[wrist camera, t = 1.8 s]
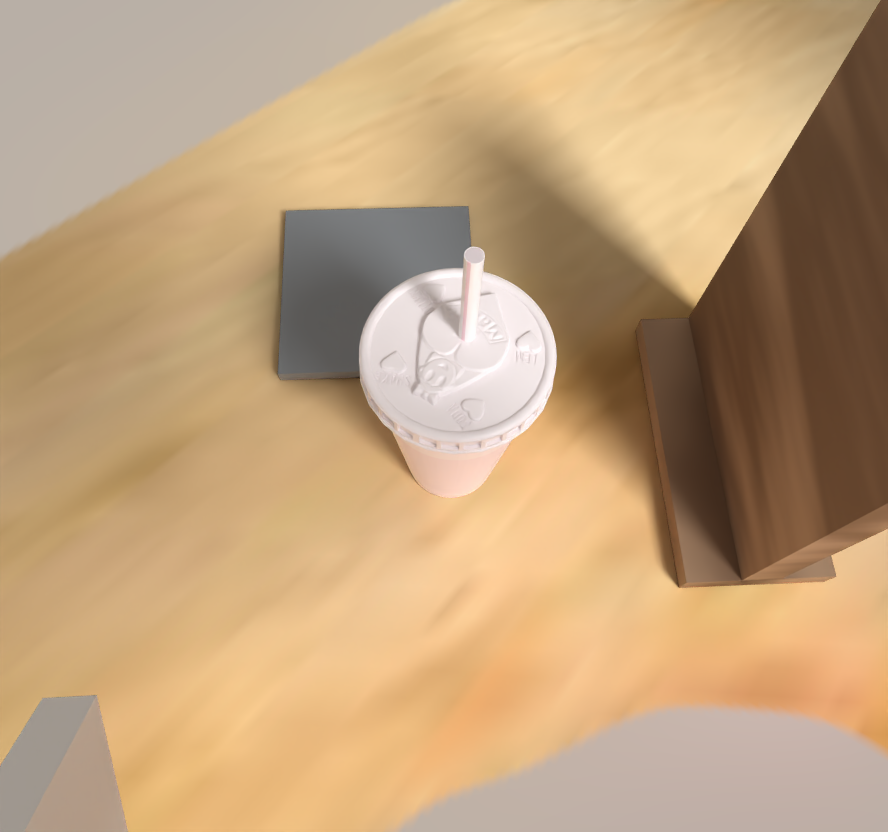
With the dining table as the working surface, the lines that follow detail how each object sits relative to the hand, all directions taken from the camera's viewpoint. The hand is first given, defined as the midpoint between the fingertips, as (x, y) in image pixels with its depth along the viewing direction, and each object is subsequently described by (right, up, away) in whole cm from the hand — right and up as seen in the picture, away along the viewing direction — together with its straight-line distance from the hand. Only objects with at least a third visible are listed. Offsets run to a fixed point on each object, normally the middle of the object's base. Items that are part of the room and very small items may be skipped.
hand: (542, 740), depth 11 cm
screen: (+11, +4, +22) cm, 24 cm away
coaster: (-5, +11, +24) cm, 27 cm away
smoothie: (-1, +3, +21) cm, 22 cm away
